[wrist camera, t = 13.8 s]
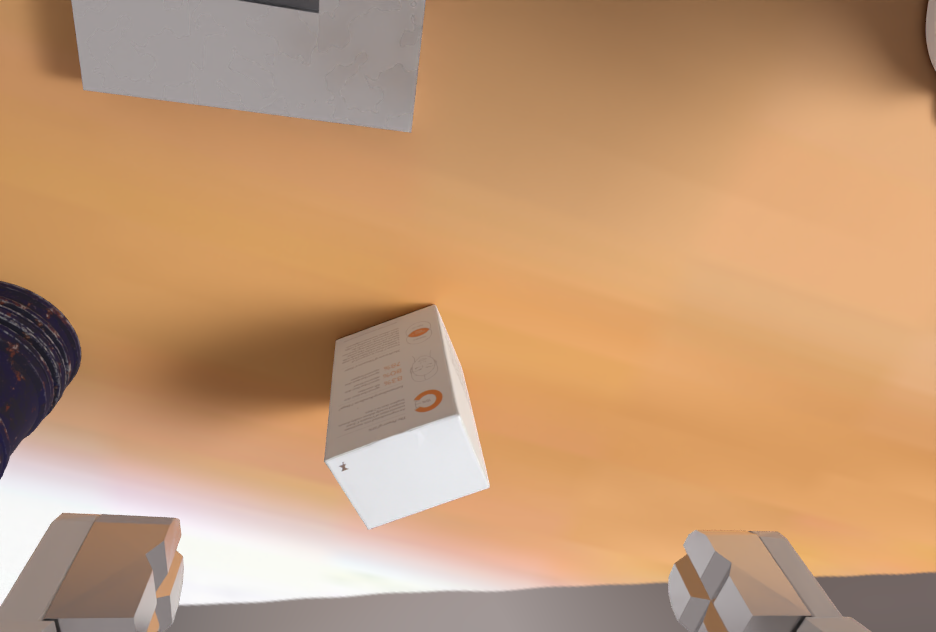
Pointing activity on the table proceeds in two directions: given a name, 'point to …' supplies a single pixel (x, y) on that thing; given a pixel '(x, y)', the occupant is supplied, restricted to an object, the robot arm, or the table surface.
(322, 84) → the chassis
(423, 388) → the small box
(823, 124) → the table surface
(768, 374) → the table surface
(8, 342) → the dark ribbed barrel
